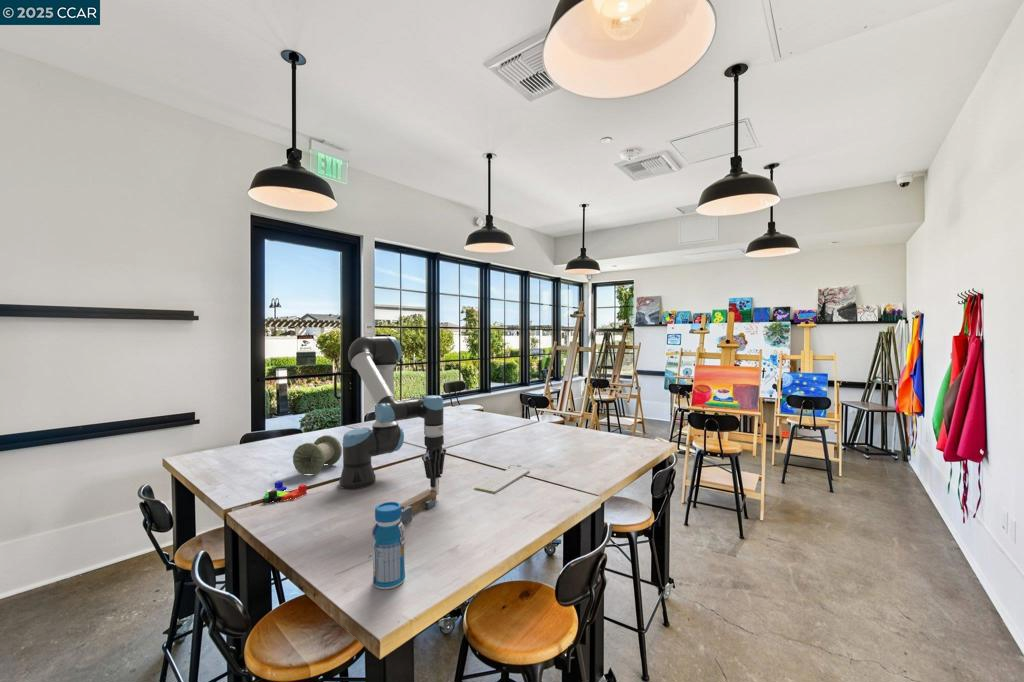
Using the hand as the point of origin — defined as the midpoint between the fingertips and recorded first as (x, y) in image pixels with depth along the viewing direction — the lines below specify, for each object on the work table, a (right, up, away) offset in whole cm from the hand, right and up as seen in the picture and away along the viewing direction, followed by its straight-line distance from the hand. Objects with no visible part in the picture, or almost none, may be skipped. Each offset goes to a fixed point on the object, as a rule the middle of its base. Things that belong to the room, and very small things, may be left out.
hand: (434, 494), depth 168 cm
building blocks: (-63, -3, +3) cm, 63 cm away
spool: (-64, -2, +38) cm, 74 cm away
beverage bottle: (-2, -3, -56) cm, 56 cm away
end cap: (-10, -2, -20) cm, 23 cm away
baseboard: (+26, -2, +22) cm, 34 cm away
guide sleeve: (-3, -2, -7) cm, 8 cm away
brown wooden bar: (-5, -2, -8) cm, 10 cm away
